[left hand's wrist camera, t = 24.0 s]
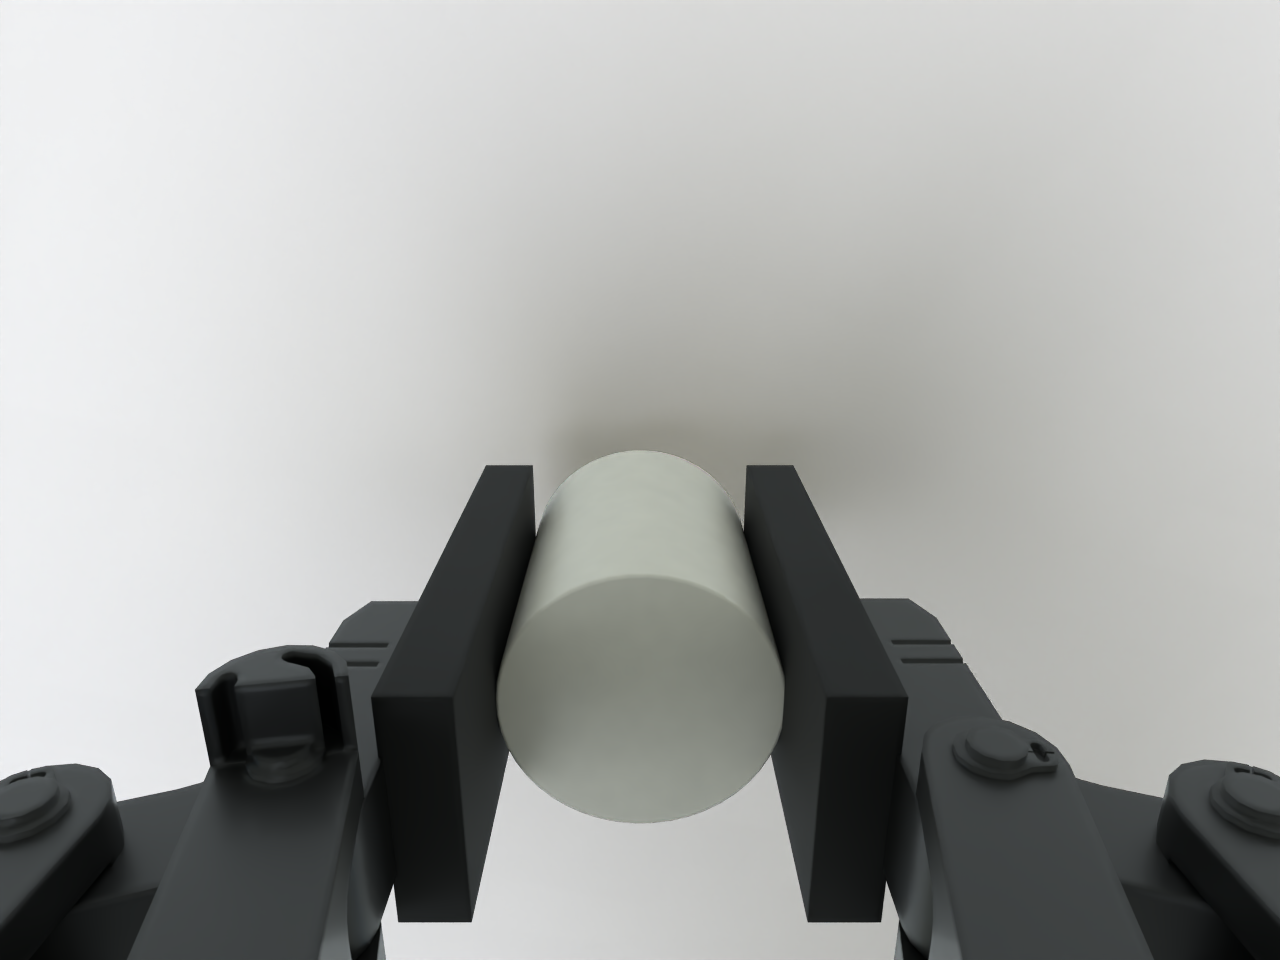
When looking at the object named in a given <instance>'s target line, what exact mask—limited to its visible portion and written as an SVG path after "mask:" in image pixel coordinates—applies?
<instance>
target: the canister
mask: <svg viewBox="0 0 1280 960" xmlns="http://www.w3.org/2000/svg"><path fill="white" fill-rule="evenodd" d="M784 689H785V675H784V672H783V668H782V664H781V661H780V657H779V654H778V650H777V647H776V643H775V640H774V636H773V633H772V629H771V626H770V622H769V619H768V615H767V612H766V608H765V605H764V601H763V598H762V594H761V591H760V587H759V584H758V580H757V577H756V573H755V570H754V566H753V563H752V559H751V556H750V552H749V549H748V545H747V542H746V538H745V535H744V531H743V528H742V524H741V521H740V517H739V515H738V512H737V510H736V508H735V505H734V503H733V502H732V500H731V498H730V497H729V495H728V494H727V492H726V491H725V490H724V489H723V487H722V486H721V485H720V484H719V483H718V482H717V481H716V480H715V479H714V478H713V477H712V476H711V475H710V474H709V473H707V472H706V471H704V470H703V469H702V468H700V467H699V466H697V465H695V464H693V463H691V462H689V461H688V460H685V459H683V458H680V457H677V456H675V455H671V454H667V453H663V452H658V451H648V450H631V451H624V452H618V453H614V454H610V455H607V456H603V457H601V458H599V459H596V460H594V461H592V462H590V463H588V464H586V465H585V466H583V467H581V468H579V469H578V470H577V471H576V472H574V473H573V474H572V475H570V476H569V477H568V478H567V479H566V480H565V481H564V482H563V483H562V484H561V485H560V486H559V487H558V489H557V490H556V491H555V493H554V494H553V495H552V497H551V499H550V500H549V502H548V504H547V506H546V508H545V510H544V513H543V515H542V518H541V521H540V525H539V528H538V532H537V535H536V539H535V543H534V546H533V550H532V553H531V557H530V561H529V564H528V568H527V571H526V575H525V579H524V582H523V586H522V589H521V593H520V597H519V600H518V604H517V607H516V611H515V615H514V618H513V622H512V625H511V629H510V633H509V636H508V640H507V643H506V647H505V651H504V654H503V658H502V661H501V665H500V669H499V674H498V678H497V683H496V708H497V717H498V721H499V726H500V730H501V733H502V735H503V738H504V740H505V742H506V745H507V747H508V749H509V751H510V752H511V754H512V756H513V758H514V759H515V761H516V762H517V764H518V765H519V766H520V768H521V769H522V770H523V771H524V773H525V774H526V775H527V776H528V777H529V778H530V779H531V780H532V781H533V782H534V783H535V784H536V785H537V786H538V787H539V788H541V789H542V790H543V791H545V792H546V793H547V794H549V795H550V796H551V797H553V798H554V799H556V800H558V801H559V802H561V803H563V804H565V805H566V806H568V807H571V808H573V809H575V810H577V811H580V812H582V813H585V814H588V815H591V816H594V817H597V818H601V819H606V820H611V821H616V822H627V823H656V822H664V821H672V820H676V819H680V818H684V817H688V816H691V815H694V814H697V813H700V812H702V811H705V810H707V809H709V808H711V807H713V806H715V805H717V804H720V803H721V802H723V801H724V800H726V799H728V798H729V797H731V796H732V795H734V794H735V793H736V792H738V791H739V790H740V789H741V788H743V787H744V786H745V785H746V784H747V783H748V782H749V781H750V780H751V779H752V778H753V777H754V776H755V775H756V774H757V773H758V772H759V771H760V769H761V768H762V767H763V765H764V764H765V762H766V761H767V760H768V758H769V757H770V755H771V753H772V751H773V749H774V747H775V745H776V743H777V741H778V738H779V736H780V733H781V730H782V721H783V706H784Z"/></svg>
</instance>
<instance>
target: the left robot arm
mask: <svg viewBox="0 0 1280 960" xmlns="http://www.w3.org/2000/svg"><path fill="white" fill-rule="evenodd" d="M744 535H745V538H746V542H747V545H748V549H749V552H750V556H751V559H752V563H753V566H754V570H755V573H756V577H757V580H758V584H759V587H760V591H761V594H762V598H763V601H764V605H765V608H766V612H767V615H768V619H769V622H770V626H771V629H772V633H773V636H774V640H775V643H776V647H777V650H778V654H779V657H780V661H781V664H782V668H783V672H784V675H785V689H784V706H783V721H782V730H781V733H780V736H779V738H778V741H777V743H776V745H775V747H774V749H773V751H772V753H771V757H772V761H773V766H774V771H775V775H776V780H777V784H778V789H779V793H780V798H781V802H782V807H783V812H784V816H785V821H786V825H787V830H788V834H789V839H790V843H791V848H792V853H793V857H794V862H795V866H796V871H797V875H798V880H799V884H800V889H801V894H802V898H803V903H804V907H805V912H806V916H807V921H808V922H881V918H882V910H883V902H884V894H885V886H886V881H887V884H888V887H889V890H890V893H891V896H892V899H893V902H894V905H895V908H896V910H897V913H898V916H899V926H898V934H897V942H896V949H895V957H894V960H1280V777H1279V776H1277V775H1275V774H1273V773H1272V772H1270V771H1267V770H1264V769H1261V768H1257V767H1254V766H1253V767H1251V766H1249V765H1246V764H1241V763H1236V762H1228V761H1215V760H1200V761H1195V762H1190V763H1185V764H1181V765H1180V766H1179V767H1178V768H1177V769H1176V770H1175V771H1174V772H1172V773H1171V774H1170V775H1169V778H1168V782H1167V786H1166V790H1165V794H1164V798H1160V797H1155V796H1150V795H1145V794H1141V793H1136V792H1131V791H1126V790H1121V789H1116V788H1112V787H1107V786H1102V785H1099V784H1095V783H1091V782H1088V781H1084V780H1080V779H1078V778H1075V776H1074V774H1073V771H1072V769H1071V767H1070V765H1069V763H1068V762H1067V761H1066V759H1065V758H1064V757H1063V755H1062V754H1061V753H1060V751H1059V750H1058V749H1057V747H1055V746H1054V745H1052V744H1051V743H1050V742H1048V741H1047V740H1045V739H1044V738H1043V737H1041V736H1040V735H1038V734H1037V733H1036V732H1033V731H1031V730H1028V729H1026V728H1024V727H1021V726H1019V725H1017V724H1014V723H1012V722H1009V721H1004V720H1002V719H1001V717H1000V716H999V714H998V713H997V711H996V710H995V708H994V706H993V705H992V703H991V702H990V700H989V699H988V697H987V696H986V694H985V693H984V691H983V689H982V688H981V686H980V685H979V683H978V682H977V680H976V679H975V677H974V675H973V674H972V672H971V671H970V669H969V668H968V666H967V665H966V664H963V658H962V657H961V655H960V654H959V652H958V651H957V649H956V648H955V646H954V645H951V640H950V638H949V637H948V635H947V634H946V632H945V630H944V629H943V627H942V626H941V624H940V623H939V621H938V620H937V618H936V617H934V616H933V615H932V614H930V613H929V612H927V611H926V610H924V609H923V608H921V607H920V606H918V605H917V604H915V603H914V602H913V601H911V600H910V599H859V597H858V595H857V593H856V590H855V588H854V586H853V584H852V582H851V580H850V578H849V576H848V574H847V572H846V570H845V568H844V566H843V564H842V562H841V560H840V558H839V556H838V554H837V552H836V550H835V548H834V546H833V544H832V542H831V540H830V538H829V536H828V534H827V532H826V530H825V528H824V526H823V524H822V522H821V520H820V518H819V516H818V514H817V512H816V510H815V508H814V506H813V504H812V502H811V500H810V498H809V496H808V494H807V492H806V490H805V488H804V486H803V484H802V482H801V480H800V478H799V476H798V474H797V472H796V470H795V468H794V466H793V465H747V469H746V492H745V515H744ZM535 539H536V530H535V507H534V484H533V465H486V467H485V469H484V471H483V473H482V475H481V477H480V479H479V481H478V483H477V485H476V487H475V489H474V491H473V493H472V495H471V497H470V499H469V501H468V503H467V505H466V507H465V509H464V511H463V513H462V515H461V517H460V519H459V521H458V523H457V525H456V527H455V529H454V531H453V533H452V535H451V537H450V539H449V541H448V543H447V545H446V547H445V549H444V551H443V553H442V555H441V557H440V559H439V561H438V563H437V565H436V567H435V569H434V571H433V573H432V575H431V577H430V579H429V581H428V583H427V585H426V587H425V589H424V591H423V593H422V595H421V597H420V599H419V601H371V602H370V603H368V604H367V605H365V606H364V607H362V608H361V609H360V610H358V611H357V612H355V613H354V614H352V615H351V616H349V617H348V618H347V619H345V620H344V621H343V622H342V624H341V625H340V627H339V628H338V630H337V631H336V633H335V635H334V636H333V638H332V639H331V641H330V642H329V648H326V649H324V648H321V647H317V646H313V645H285V646H280V647H274V648H269V649H263V650H258V651H255V652H252V653H250V654H247V655H244V656H241V657H239V658H236V659H233V660H231V661H229V662H227V663H226V664H224V665H222V666H221V667H219V668H218V669H216V670H214V671H213V672H211V673H209V674H208V675H207V677H206V678H205V679H204V680H203V681H202V682H201V683H200V685H199V686H198V687H197V688H196V689H195V692H196V697H197V702H198V707H199V712H200V717H201V722H202V727H203V732H204V737H205V742H206V747H207V752H208V756H209V761H210V768H209V771H208V773H207V775H206V778H205V780H204V782H202V783H199V784H195V785H191V786H188V787H184V788H180V789H177V790H172V791H167V792H162V793H157V794H153V795H148V796H143V797H138V798H133V799H129V800H124V801H119V802H117V801H116V797H115V793H114V789H113V785H112V781H111V779H110V778H109V777H108V776H107V775H106V774H104V773H103V772H102V771H101V770H100V769H99V768H95V767H90V766H85V765H80V764H65V765H53V766H44V767H40V768H35V769H31V770H30V771H27V770H26V771H23V772H20V773H17V774H14V775H11V776H9V777H7V778H6V779H3V780H1V781H0V960H386V957H385V949H384V942H383V934H382V926H381V919H382V916H383V913H384V910H385V907H386V904H387V901H388V898H389V895H390V892H391V889H392V886H393V884H394V891H395V899H396V907H397V915H398V922H472V918H473V913H474V909H475V904H476V900H477V895H478V891H479V886H480V882H481V877H482V872H483V868H484V863H485V859H486V854H487V850H488V845H489V841H490V836H491V831H492V827H493V822H494V818H495V813H496V809H497V804H498V800H499V795H500V790H501V786H502V781H503V777H504V772H505V768H506V763H507V759H508V754H509V749H508V747H507V745H506V742H505V740H504V738H503V735H502V733H501V730H500V726H499V721H498V717H497V708H496V683H497V678H498V674H499V669H500V665H501V661H502V658H503V654H504V651H505V647H506V643H507V640H508V636H509V633H510V629H511V625H512V622H513V618H514V615H515V611H516V607H517V604H518V600H519V597H520V593H521V589H522V586H523V582H524V579H525V575H526V571H527V568H528V564H529V561H530V557H531V553H532V550H533V546H534V543H535Z"/></svg>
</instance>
